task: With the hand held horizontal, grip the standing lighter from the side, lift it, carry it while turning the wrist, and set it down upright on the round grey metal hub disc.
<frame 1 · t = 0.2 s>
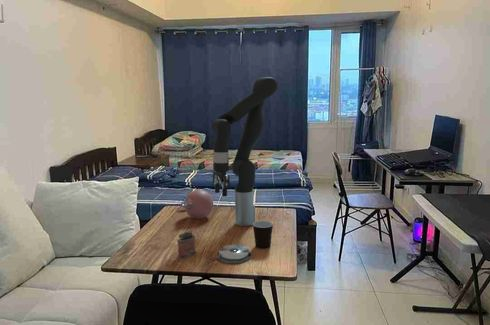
hand: (220, 194, 182), 17 cm above the table, tool pointing down, fingers open, 8 cm apart
lighter: (187, 255, 155), on the table
hub: (234, 256, 154), on the table
coffee mug: (264, 245, 165), on the table
gear: (191, 209, 219), on the table
balloon: (196, 219, 201), on the table
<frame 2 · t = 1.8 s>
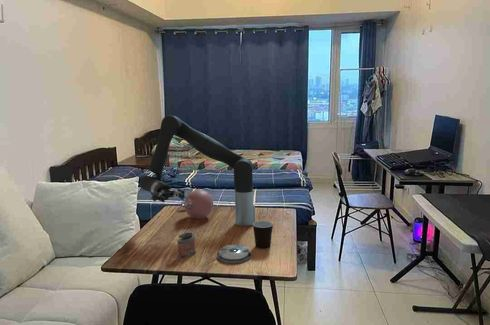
hand: (173, 198, 162), 21 cm above the table, tool horizontal, fingers open, 8 cm apart
nothing on the table moved.
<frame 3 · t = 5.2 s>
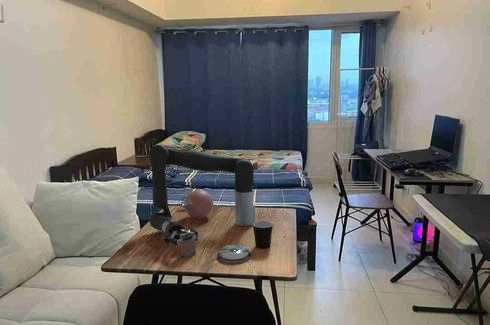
hand: (186, 241, 154), 6 cm above the table, tool horizontal, fingers open, 8 cm apart
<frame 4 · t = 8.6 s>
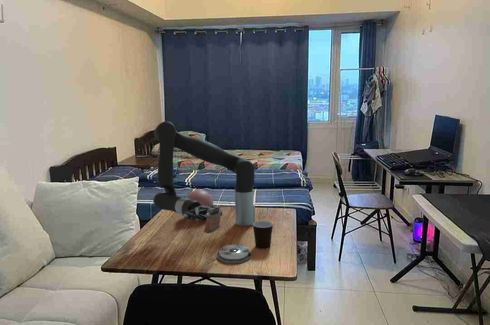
hand: (213, 216, 149), 18 cm above the table, tool horizontal, fingers closed on lighter, 8 cm apart
lighter: (212, 229, 151), point 12 cm above the table, touching gripper
everything else where it was.
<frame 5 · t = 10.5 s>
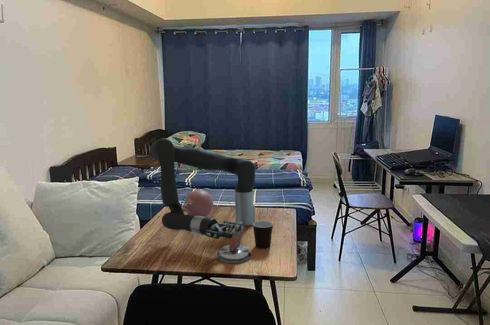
hand: (237, 232, 151), 10 cm above the table, tool horizontal, fingers closed on lighter, 8 cm apart
lighter: (234, 246, 152), point 5 cm above the table, touching gripper
when the fingers open (9 cm above the table, at t = 12.1 s): lighter stays where it is, resting on hub.
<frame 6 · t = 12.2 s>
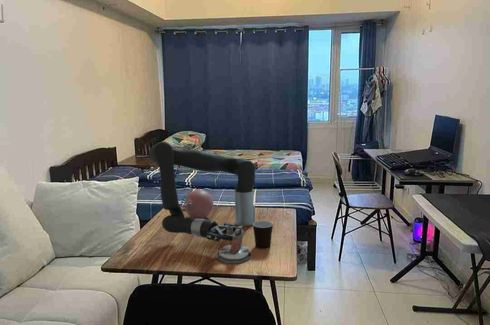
hand: (237, 234, 151), 9 cm above the table, tool horizontal, fingers open, 8 cm apart
lighter: (235, 250, 153), point 3 cm above the table, touching gripper, hub
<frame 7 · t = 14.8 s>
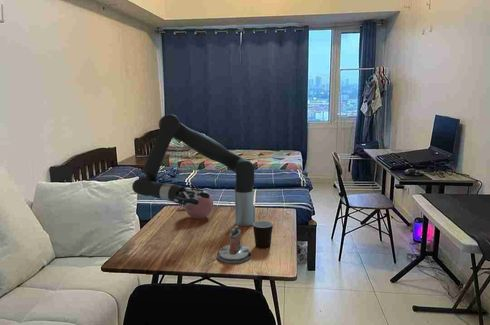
hand: (203, 198, 159), 22 cm above the table, tool horizontal, fingers open, 8 cm apart
lighter: (235, 251, 153), point 2 cm above the table, touching hub
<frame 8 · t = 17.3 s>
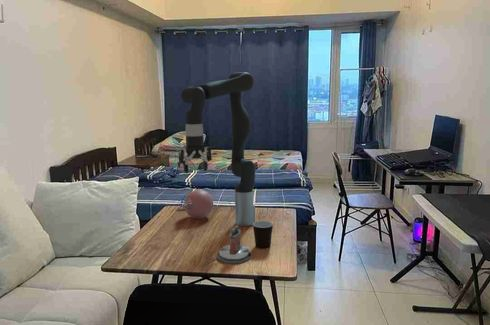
hand: (195, 171, 163), 32 cm above the table, tool pointing down, fingers open, 8 cm apart
at the end: lighter 0.7 cm from the hub (horizontally); lighter tilted 0°; the gripper is holding nothing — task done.
